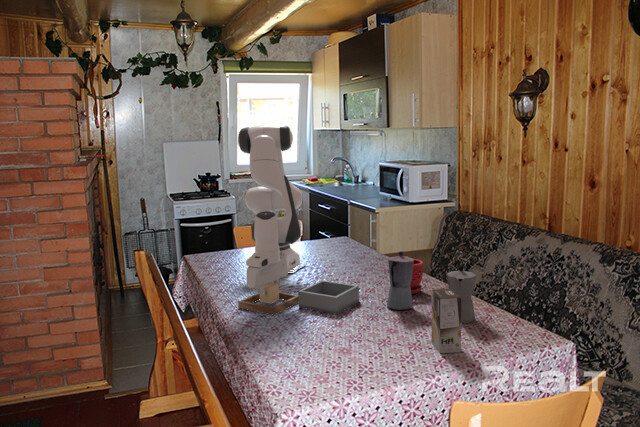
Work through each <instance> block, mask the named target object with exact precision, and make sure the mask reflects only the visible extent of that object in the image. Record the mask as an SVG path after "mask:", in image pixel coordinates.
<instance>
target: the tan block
mask: <svg viewBox="0 0 640 427" xmlns="http://www.w3.org/2000/svg"><path fill="white" fill-rule="evenodd" d="M258 290H259V289H258ZM264 290H265V291H267V296H265V297H262V296H261V293H260V290H259V293H260V300H259V302H260V303H265V304H270V305H271V304H273V303H275V302H277V301H279V292H280V286H279V284H276V283H273V282H270V283H268V284H266V285H265V288H264Z"/></svg>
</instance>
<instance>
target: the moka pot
mask: <svg viewBox="0 0 640 427" xmlns="http://www.w3.org/2000/svg"><path fill="white" fill-rule="evenodd" d="M398 254H399V255H397V256H391V257H390V256H389V257H388V258H387V259H388V262H387V263H388V272H389V281H390V283H389V292H388V296H387V303H386V306H387V307H388V308H389V309H392V310H398V311H399V310H400V311H402V310H403V311H404V310H410V309H412V308H413V299H412V296H413V295H412V294H411V287H410V284H411V279H412V271H413V264H414V260H413V259H414V258H412V257H410V256H406V255H405V256H404V251H399V252H398Z"/></svg>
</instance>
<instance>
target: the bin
mask: <svg viewBox="0 0 640 427" xmlns="http://www.w3.org/2000/svg"><path fill="white" fill-rule="evenodd" d="M359 287H360V286H359V285H355V284H348V283H342V282H335V281H330V280H329V281H328V280H320V281H318V282H316V283H314V284H311V285H309V286H307V287H305V288H302V289H300V290H298V291H297V293H298V294H297V295H298V301H299V303H298V308H299V307H302V308H301V309H305V308H307V309H306V310H310V309H311V311H317V312H323V313H327V314H332V315H338V314H340V313H341V312H344V311H345V310H346V309H348V308H350V307H352V306H353V305H355V304H357V303H359V302H360V288H359Z"/></svg>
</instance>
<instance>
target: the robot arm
mask: <svg viewBox="0 0 640 427" xmlns="http://www.w3.org/2000/svg"><path fill="white" fill-rule="evenodd" d="M293 141H294V137H293V133H292V130H291V128H290V127H289V126H288V125H284V124H279V125H277V124H276V125H275V124H264V125H259V126H251V127H249V126H246V127H243V128H241V129H240V130H239V132H238V135H237V144H238V147H239V149H240V151H241V152H242V153H245V154H249V171H250V176H251V179H252V180H253V181H254V182H255V183H256V184H257V185H258V186H255V187H254V186H253V187H250V188H249V189H247V190H246V192H245V196H244V203H245V205H246V207H247V208H248V209H249V210H250V211H252V213H254V214H255V217H254V221H253V222H252V223H251V225H250V229H251V240H252V241H254V242H255V246H254V247H255V248H254V253H252V254H251V255H250V256H249V258H247V259H246V261H245V263H246V264H245V265H246V266H247V267H246V268H247V269H246V284H247V287H249V289H255V290H256V289H258V290H260V291H259V293H261V296H262V297H265V296H267V291H265V290H264V288H265V285H266V284H268V283H276V284H279V283H280V279H282V278H284V277H286V276H288V275H289V274H288V272H293V271H290V270H294V269H293V268H295V267H296V266H298V265H300V263H301V257H300V254H299V253H298V252H296V250H294V249H292V247H291V245H294V243H296V242H298V241H299V239H300V238H301V236H302V226H301V225H302V224H301V222H300V220H299V217H298V214H297V209H299V208H300V207H301V205H302V203H303V194H302V191H301V189H299V187H298V186H295V184H293V183H292V182H291V181H290V180H289V179H288V176H287V175H286V173H285V169H284V162H283V154H282V153H283V152H285V151H287V150H289V149H290V148H291V147H292V144H293ZM274 211H280V212H281V211H285V216H282V217H280V216H278V217H277V214H276V213H275V212H274ZM294 271H295V270H294Z"/></svg>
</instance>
